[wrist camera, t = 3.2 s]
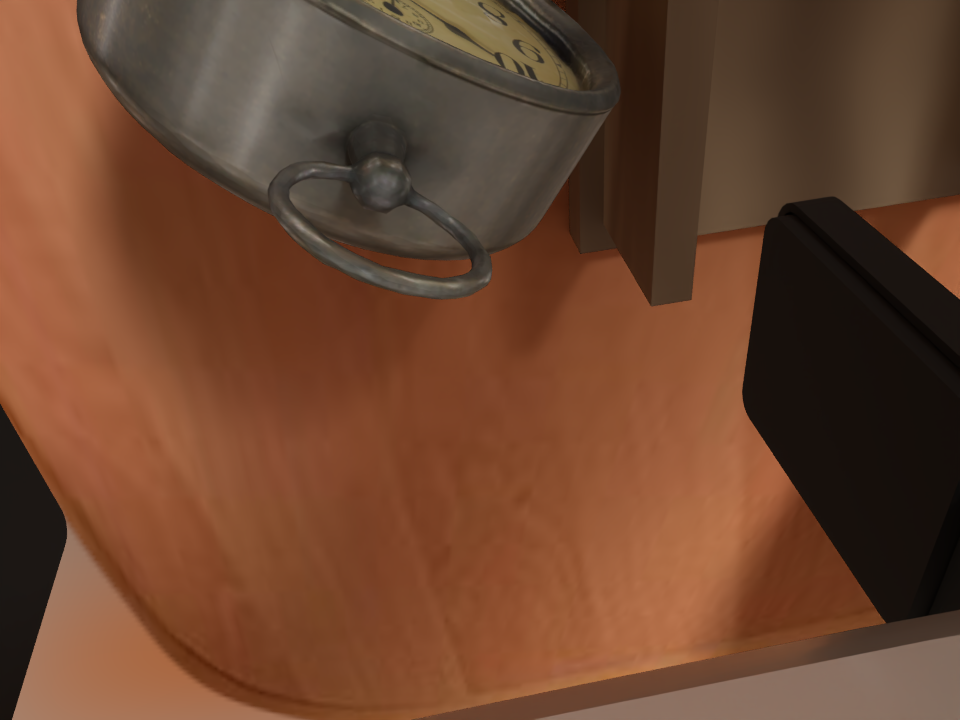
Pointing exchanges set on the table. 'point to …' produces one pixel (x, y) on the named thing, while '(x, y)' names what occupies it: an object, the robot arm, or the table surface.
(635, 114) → the wooden tray
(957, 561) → the robot arm
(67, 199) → the table surface
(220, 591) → the table surface
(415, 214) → the alarm clock
